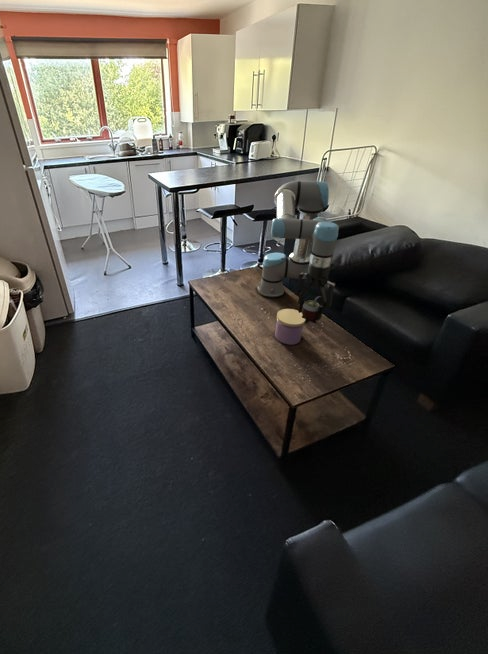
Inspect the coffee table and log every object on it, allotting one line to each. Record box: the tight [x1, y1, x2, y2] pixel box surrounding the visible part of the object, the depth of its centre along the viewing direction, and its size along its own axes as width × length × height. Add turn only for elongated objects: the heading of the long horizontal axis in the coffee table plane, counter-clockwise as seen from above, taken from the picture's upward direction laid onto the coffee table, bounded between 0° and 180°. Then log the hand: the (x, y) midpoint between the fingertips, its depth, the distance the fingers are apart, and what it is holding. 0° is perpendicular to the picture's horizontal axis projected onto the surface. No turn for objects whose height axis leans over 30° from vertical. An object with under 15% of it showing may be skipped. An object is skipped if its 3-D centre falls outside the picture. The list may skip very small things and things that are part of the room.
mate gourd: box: [301, 295, 321, 324], centre depth 126 cm, size 8×8×15 cm
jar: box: [274, 308, 305, 345], centre depth 148 cm, size 13×13×12 cm
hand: (309, 315), depth 129 cm, fingers closed on mate gourd, 7 cm apart
